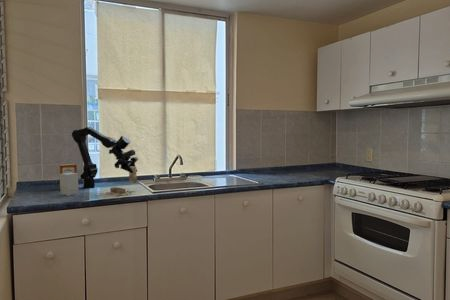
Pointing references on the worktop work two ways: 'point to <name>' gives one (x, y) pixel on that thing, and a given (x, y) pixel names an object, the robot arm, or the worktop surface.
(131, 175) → the beech dowel
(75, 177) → the supplement box
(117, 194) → the balance ridge
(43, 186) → the worktop surface
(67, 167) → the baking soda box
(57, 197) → the worktop surface
